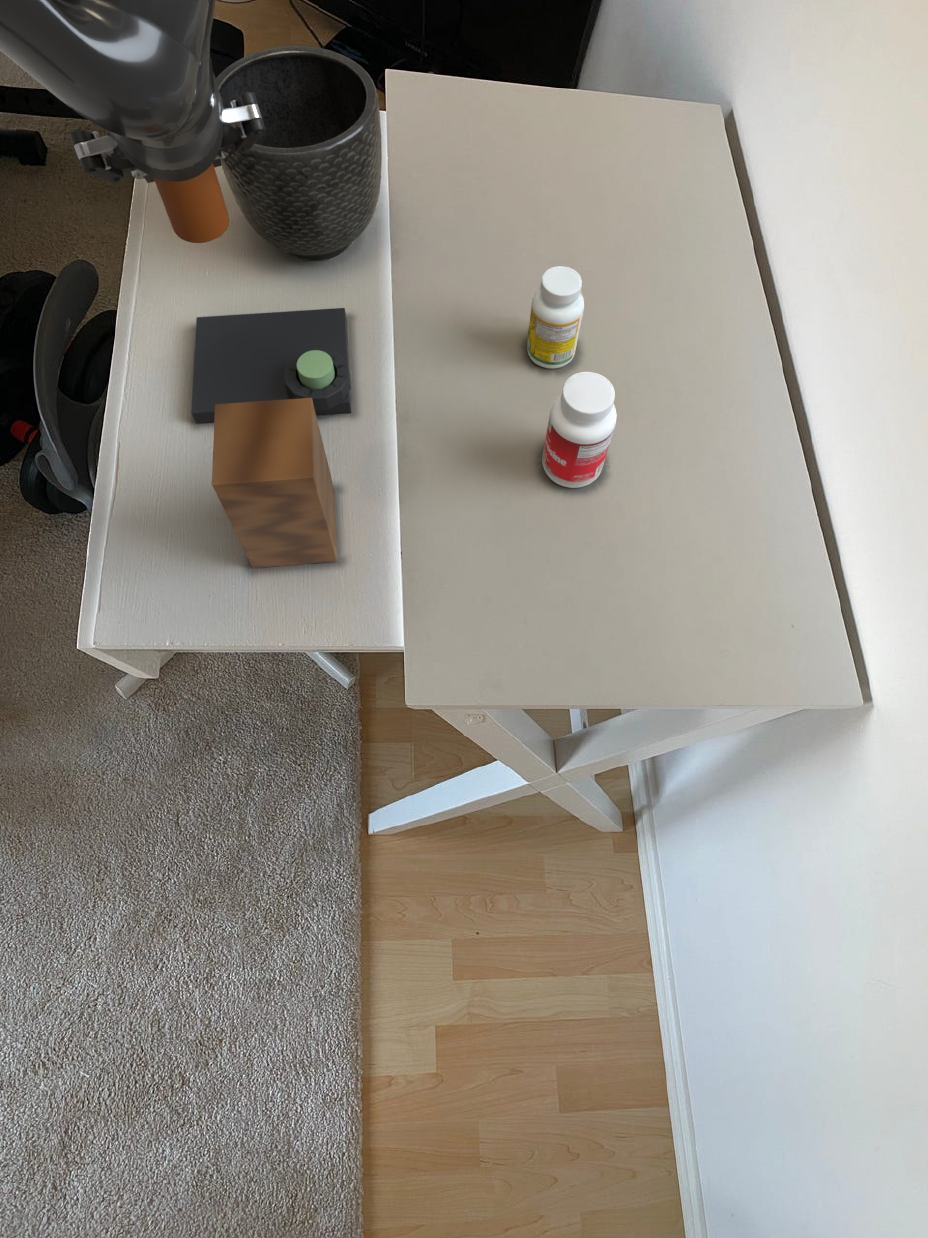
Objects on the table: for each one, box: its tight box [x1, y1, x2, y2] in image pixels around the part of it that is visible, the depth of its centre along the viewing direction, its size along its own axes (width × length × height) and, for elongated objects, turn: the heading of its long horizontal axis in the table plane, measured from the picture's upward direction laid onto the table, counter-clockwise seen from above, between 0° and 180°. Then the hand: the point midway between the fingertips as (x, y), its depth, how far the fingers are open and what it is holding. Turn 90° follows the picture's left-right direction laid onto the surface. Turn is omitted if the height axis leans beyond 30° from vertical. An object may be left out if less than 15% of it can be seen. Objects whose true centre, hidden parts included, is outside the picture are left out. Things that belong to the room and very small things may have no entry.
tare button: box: [297, 350, 335, 389], centre depth 79 cm, size 4×4×2 cm
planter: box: [215, 45, 383, 262], centre depth 85 cm, size 17×17×16 cm
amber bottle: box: [154, 163, 231, 244], centre depth 65 cm, size 5×5×10 cm
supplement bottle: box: [526, 265, 585, 369], centre depth 82 cm, size 5×5×10 cm
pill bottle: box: [541, 371, 618, 489], centre depth 75 cm, size 6×6×11 cm
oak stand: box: [211, 398, 338, 569], centre depth 70 cm, size 8×8×14 cm
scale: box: [191, 307, 352, 425], centre depth 83 cm, size 16×14×4 cm
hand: (179, 160), depth 66 cm, fingers closed on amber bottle, 5 cm apart
